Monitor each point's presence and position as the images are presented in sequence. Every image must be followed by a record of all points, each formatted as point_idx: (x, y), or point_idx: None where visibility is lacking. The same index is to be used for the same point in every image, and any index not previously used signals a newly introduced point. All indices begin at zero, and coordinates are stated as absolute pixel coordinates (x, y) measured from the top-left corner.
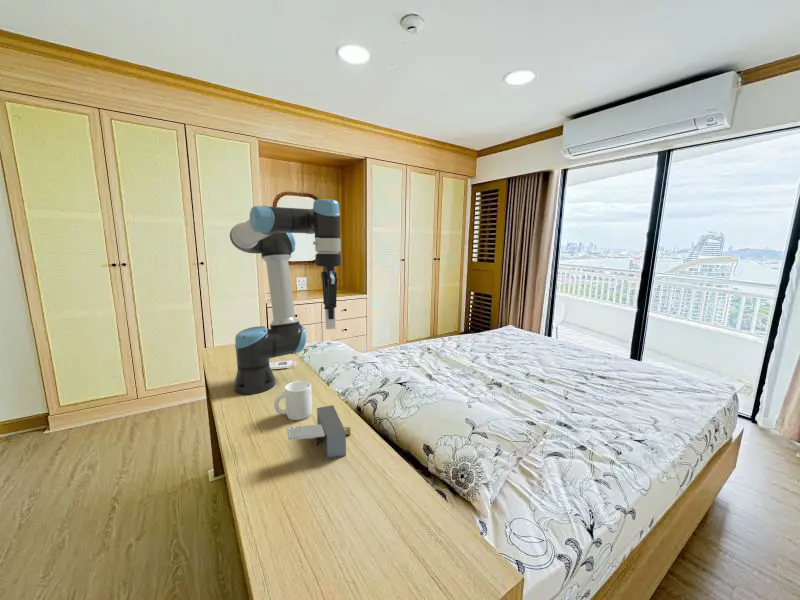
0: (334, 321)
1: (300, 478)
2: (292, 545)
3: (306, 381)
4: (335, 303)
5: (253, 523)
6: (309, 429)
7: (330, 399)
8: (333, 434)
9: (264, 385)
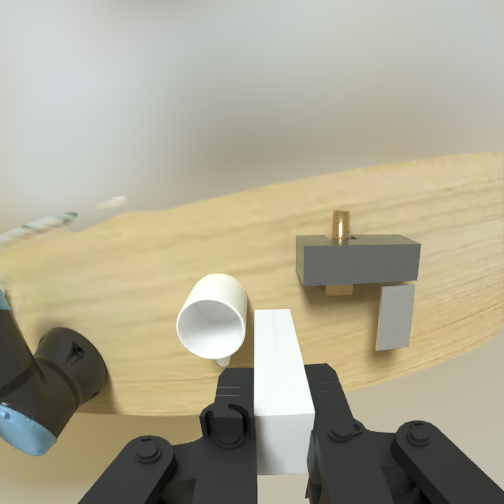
0: (294, 339)
1: (413, 308)
2: (483, 315)
3: (186, 307)
4: (455, 455)
5: (445, 353)
6: (394, 311)
7: (167, 221)
8: (418, 267)
9: (91, 356)
